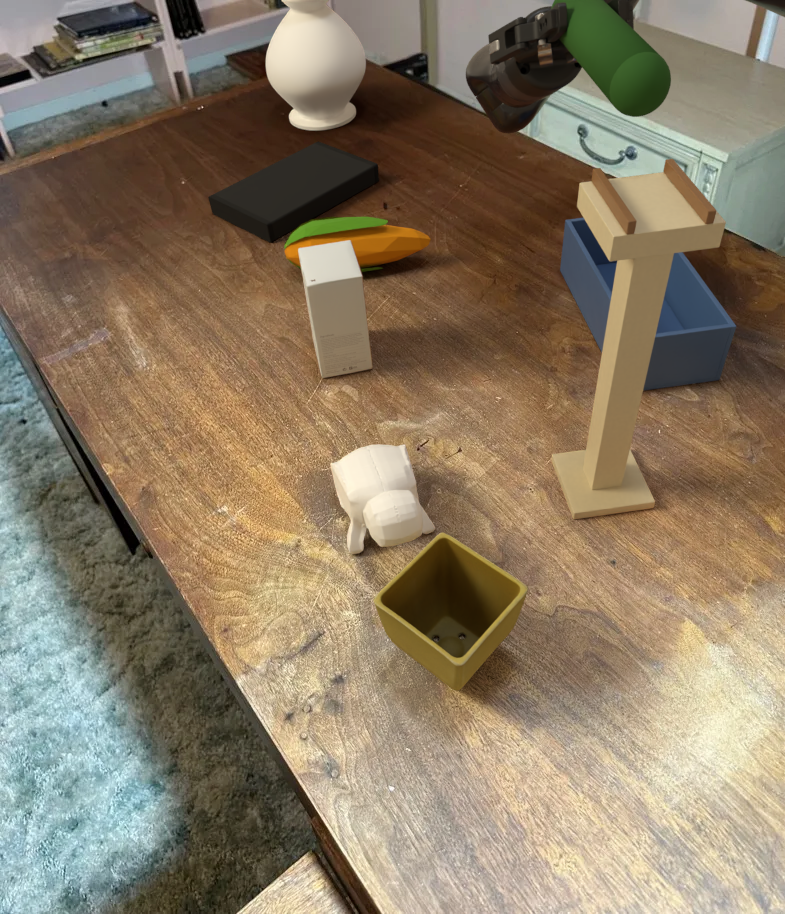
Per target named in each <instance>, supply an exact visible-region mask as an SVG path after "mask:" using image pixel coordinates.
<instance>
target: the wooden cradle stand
mask: <svg viewBox="0 0 785 914" xmlns="http://www.w3.org/2000/svg"><path fill="white" fill-rule="evenodd" d="M578 185H579V186H578V193H577V202H576V208H577V209H578V212H579V213H580V214H581V217H582V218H584V219H585V221H586V223H587V224H588V226H589V228H590V229H591V231H592V233H593V234H594V236H595V238H596V239H597V241H598V243H599V245H600V246H601V248H602V250H603V251H604V253H605V255H606V256H607V258H608V260H609V261H610V262H611V261H617V266H616V272H615V278H614V284H613V290H612V296H611V302H610V308H609V314H608V320H607V326H606V332H605V338H604V344H603V350H602V352H601V357H600V362H599V369H598V376H597V379H596V380H597V381H596V387H595V394H594V398H593V405H592V411H591V417H590V423H589V429H588V435H587V440H586V448H585V449H580V450H573V451H565V452H558V453H552V454H551V459H550V461H551V465H552V466H553V469H554V473H555V475H556V478H557V480H558V484H559V486H560V488H561V491H562V494H563V497H564V499H565V503H566V504H567V507H568V510H569V512H570V515H571V517H572V519H573V520H581V519H588V518H594V517H601V516H607V515H608V516H609V515H614V514H621V513H627V512H636V511H641V510H650V509H654V508H655V504H656V500H655V498H654V496H653V494H652V492H651V489H650V487H649V485H648V483H647V481H646V479H645V477H644V475H643V472H642V471H641V468H640V466H639V464H638V463H637V460H636V458H635V456H634V454H633V452H632V450H631V445H632V441H633V437H634V433H635V428H636V424H637V419H638V415H639V410H640V405H641V401H642V398H643V392H644V391H643V389H644V384H645V380H646V375H647V371H648V366H649V362H650V358H651V353H652V349H653V344H654V340H655V335H656V331H657V327H658V322H659V318H660V313H661V309H662V304H663V300H664V296H665V291H666V287H667V282H668V278H669V274H670V269H671V265H672V260H673V256H674V253H679V252H683V253H687V252H694V251H700V250H709V249H717V248H720V246H721V242H722V238H723V235H724V231H725V228H726V224H727V222H726V220H725V219H724V218H723V217H722V215H721V214H720V213H719V212H718V210H717V209H716V208H715V207H714V205H713V204H712V203H711V202H710V201H709V200H708V198H707V197H706V196H705V195H704V194H703V192H702V191H701V190H700V189H699V188H698V186H697V185H696V184H695V183H694V182H693V180H692V179H691V178H690V177H689V176H688V175H687V174H686V172H685V171H684V170H683V168H681V166H680V165H679V164H678V163H677V162H676V160H675V159H674V158H667V159H665V161H664V166H663V171H660V172H653V173H644V174H638V175H629V176H621V177H615V178H608V177H607V175H606V174H605V173H604V171H603V170H602V168H601V167H596V168H592V173H591V180H590V181H582V182H579V184H578Z"/></svg>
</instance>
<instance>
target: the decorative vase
mask: <svg viewBox="0 0 785 914" xmlns="http://www.w3.org/2000/svg"><path fill="white" fill-rule="evenodd" d="M280 1H281V2H282V3H283V4H284V5H285V6H287V7H288V8H289V10H288V11H287V13H286V14H285V16H284V17H283V18H282V20H281V21H280V23H278V25H277V28H276V29H275V31H274V33H273V35H272V37H271V39H270V41H269V44H268V46H267V50H266V54H265V72H266V77H267V80H268V82H269V84H270V85H271V87H272V88H273V90H274V91H275V92H276V93H277V94H278V95H279V96H280V97H281V98H282V100H284V101H285V102H286V103H287V104H288V105H289V106H290V107H292V109H291V111H290V112H289V113H288V121H289V123H290V124H291V125H292V126H293V127H295V128H297V129H300V130H305V131H328V130H332V129H336V128H339V127H343V126H345V125H347V124H349V123H350V122H352V121H353V120H354V119H355V117H356V115H357V108H356V106H355V105H354V104H353V103H352V102H350V101H351V99H352V98H353V97H354V95H355V94H356V91H357V90H358V88H359V86H360V85H361V83H362V81H363V79H364V77H365V75H366V70H367V60H366V59H367V58H366V53H365V49H364V47H363V44H362V42H361V40H360V38H359V37H358V35H357V34H356V33H355V32H354V31H355V30H353V29H352V27H351V26H350V25H349V24H348V23H347V22H346V21H345V20H344V19H343V18H342V17H341V16H340V15H339V14H338V13H337V12H336V11H334V9H332V8H331V7H329V6H328V2H329V1H330V0H280Z"/></svg>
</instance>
